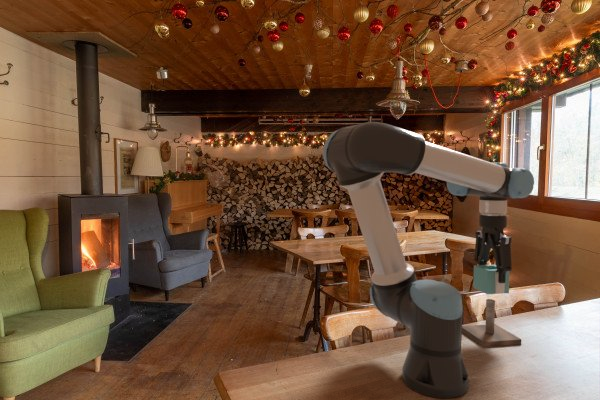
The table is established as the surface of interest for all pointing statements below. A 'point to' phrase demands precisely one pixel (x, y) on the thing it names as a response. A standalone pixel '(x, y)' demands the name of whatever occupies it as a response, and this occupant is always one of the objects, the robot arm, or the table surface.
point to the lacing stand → (490, 331)
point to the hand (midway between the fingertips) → (491, 289)
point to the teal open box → (487, 279)
